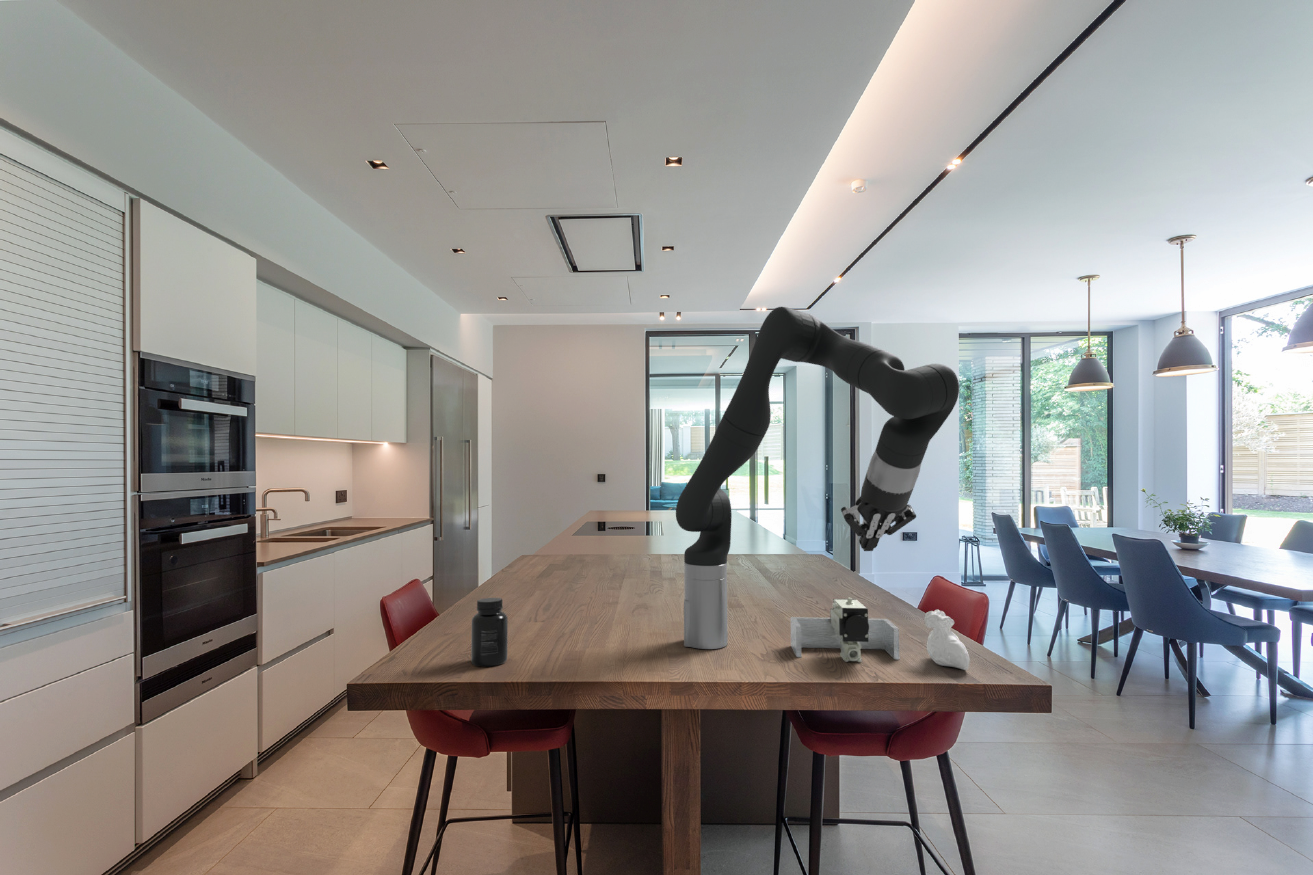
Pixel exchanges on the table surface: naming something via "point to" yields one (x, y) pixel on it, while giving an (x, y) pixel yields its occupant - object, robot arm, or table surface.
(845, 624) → the pneumatic valve
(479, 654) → the supplement bottle
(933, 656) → the bust
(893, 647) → the cradle
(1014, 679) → the table surface
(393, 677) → the table surface
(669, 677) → the table surface
